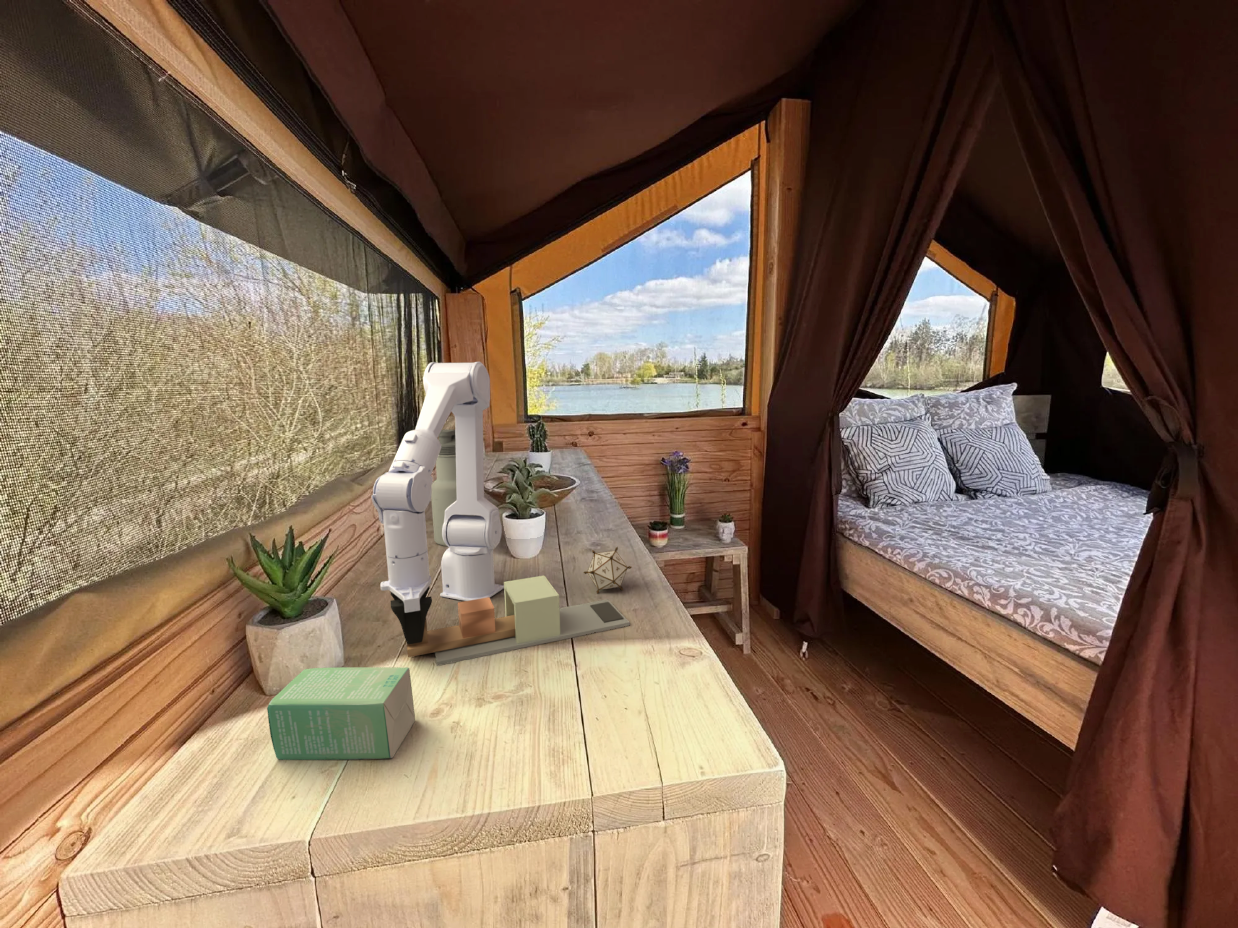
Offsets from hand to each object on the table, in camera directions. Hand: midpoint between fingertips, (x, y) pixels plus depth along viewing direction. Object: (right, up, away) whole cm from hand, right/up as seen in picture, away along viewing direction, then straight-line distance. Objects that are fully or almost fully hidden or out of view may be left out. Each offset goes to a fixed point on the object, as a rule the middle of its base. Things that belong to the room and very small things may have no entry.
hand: (414, 636), depth 83 cm
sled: (+9, -2, +4) cm, 10 cm away
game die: (+29, +2, +24) cm, 38 cm away
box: (-1, -7, -18) cm, 20 cm away
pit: (+29, 0, +12) cm, 32 cm away
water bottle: (-10, +7, +54) cm, 56 cm away
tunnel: (+17, -1, +7) cm, 18 cm away
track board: (+17, -1, +7) cm, 18 cm away
